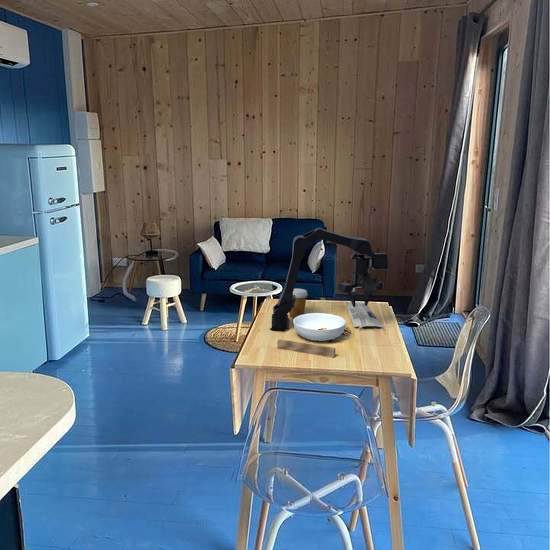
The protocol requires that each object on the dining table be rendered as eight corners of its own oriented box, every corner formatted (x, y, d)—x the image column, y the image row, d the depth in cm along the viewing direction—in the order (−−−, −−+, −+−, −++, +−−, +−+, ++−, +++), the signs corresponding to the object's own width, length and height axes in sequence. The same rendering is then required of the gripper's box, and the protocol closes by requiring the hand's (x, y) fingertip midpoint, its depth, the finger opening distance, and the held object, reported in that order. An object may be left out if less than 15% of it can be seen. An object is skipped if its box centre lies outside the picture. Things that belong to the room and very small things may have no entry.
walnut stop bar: (277, 348, 196) (277, 340, 195) (279, 346, 197) (279, 339, 197) (333, 357, 187) (333, 349, 186) (335, 355, 189) (335, 348, 188)
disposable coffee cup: (310, 315, 236) (311, 290, 233) (300, 321, 228) (301, 294, 225) (292, 312, 241) (293, 287, 238) (282, 317, 233) (282, 291, 230)
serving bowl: (285, 331, 215) (285, 315, 213) (330, 326, 222) (331, 310, 220) (305, 349, 196) (306, 331, 194) (355, 342, 203) (355, 325, 201)
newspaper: (384, 331, 217) (384, 323, 217) (354, 331, 217) (354, 323, 216) (367, 307, 252) (367, 300, 251) (341, 307, 251) (341, 300, 251)
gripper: (351, 275, 202) (349, 313, 205) (392, 271, 209) (390, 309, 212) (337, 269, 212) (336, 306, 216) (377, 266, 219) (375, 302, 222)
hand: (359, 306), depth 216 cm, fingers open, 5 cm apart
